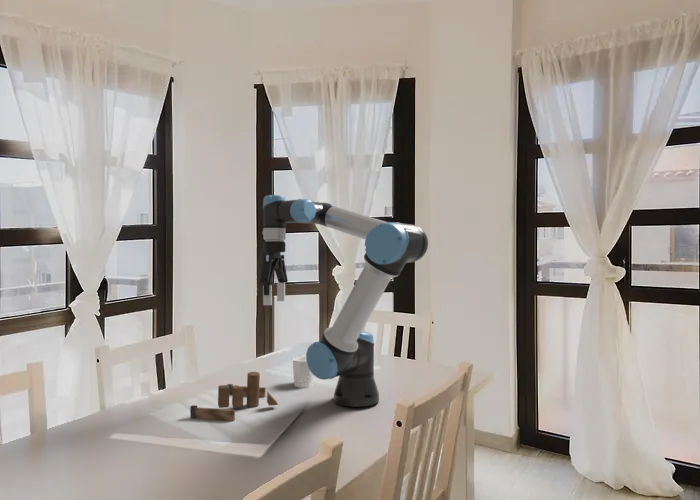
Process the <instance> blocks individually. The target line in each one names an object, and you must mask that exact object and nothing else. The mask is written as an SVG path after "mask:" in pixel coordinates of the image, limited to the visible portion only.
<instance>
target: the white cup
mask: <svg viewBox="0 0 700 500" xmlns="http://www.w3.org/2000/svg"><path fill="white" fill-rule="evenodd" d="M292 371H293V372H292V373H293V374H292V375H293V385H294V387H296V388H300V389H307V388H311V387H313V386H314V377H315V376H314V375H313V374H312V372H311V371H310V369H309V367H308V363H307V361H306V356H299V357H294V358H292Z"/></svg>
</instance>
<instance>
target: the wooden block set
mask: <svg viewBox="0 0 700 500" xmlns="http://www.w3.org/2000/svg"><path fill="white" fill-rule="evenodd" d="M260 375H261V374H260V372H257V371H250V372H248V373H247V375H246V377H247V378H246V379H247V380H246V381H247V382H246V387H247V396H246V406H247V407H249V408H255V407H258V406H260V405H259V404H260V397H259V387H260ZM239 386H240V385H235V384H234V385H233V389H232V394H231V397H232V400H231V405H232V407H233V409H234V408H235V409H236V408H243V407H244V395H243V390H242V389H241V388H240V387H239ZM217 387H218V389H217V390H218V391H217V393H218V395H217V406H218V409H225V408H230V394H229V390H230V388H229V386H228V384H224V385H223V384H222V385H221V384H220V385H218V386H217ZM266 403H267V405H268V406H278V405H279V403H278V402H277V400H276V399H275V398H274V397H273V396H272V395H271V394H270V393H269V392H268V391H267V393H266Z"/></svg>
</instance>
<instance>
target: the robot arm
mask: <svg viewBox="0 0 700 500" xmlns="http://www.w3.org/2000/svg"><path fill="white" fill-rule="evenodd" d="M262 204H263V205H262V215H263V216H262V219H263V220H262V221H263V222H262V223H263V224H262V225H263V230H262V232H261V233H262V235H263V240H264V241H263V243H262V245H263V247H262V248H263V249H262V251H263V253H267V255H266V254H264V256H263V262H262V263H263V264H262V269H261V275H260V276H261V277H260V279H259V281H260V282H259V285H260V286H262V301H263V302H262V304H263V306H272V305H273V294H272V293H273V289H272V288H273V287H272V286H273V285H272V281H273V276H274V274H275V275H276V279H277V283H276V289H277V290H276V301H277V302H286V283H288V281H289V280H288V275H287V268H286V263H285V254H281V253H285V252H286V238H287V235H286V230H287V229H286V224H293V223H294V224H296V223H298V224H299V223H300V224H311V225H312V224H315V225H320V226H323V227H326V228H330V229H333V230H336V231H339V232H342V233H344V234H347V235H351V236H353V237H356V238H360V239H363V240H365V241H364V247H365V249H364V252H365V254H364V255H363V260H364V262H365V265H364V266H363V269H362V271H361V273H360V275H359V276H358V277H357V279H356V282H355V284H354V285H353V287H352V289H351V291H350V293H349V295H348V297H347V298H346V300H345V302H344V304H343V305H342V308H341V309H340V312H339V313H338V315H337V317H336V319H335V321H334V323H333V325H332V326H331V327H326V329H325V330H324V332H323V333H322V335H321V337H320V338H319V340H318V341H315V342H313V343H311V344H310V345H309V346H308V348H307V350H306V355H305V357H306V361H307V363H308V367H309V369H310V371H311V372H312V374H313V375H314V377H316V378H317V379H320V380H325V381H326V380H332V379H334V378H337V377H338V379H337V382H336V386H335V390H334V392H333V401H334V403H336V404H337V405H341V406H345V407H354V408H355V407H356V408H358V407H368V406H373V405H375V404H377V403H379V402H380V393H379V390H378V386H377V384H376V380H375V375H374V374H375V371H374V370H375V367H374V364H375V360H374V359H375V350H374V349H375V343H374V340H375V339H374V335H373V334H372V333H371V332H368V331H367V332H366V331H363V330H364V328H365V326H366V324H367V323H368V321H369V319H370V317H371V315H372V314H373V313H374V310H375V308H376V306H377V305H378V304H379V301H380V299H381V298H382V295H384V292H385V291H386V288H387V286H388V285H389V283H390V281H391V280H392V278H395V277H396V278H397V277H398V276H400V274H401V273H402V271H403V269H404V267H405V265H406V264H408V263H409V264H410V263H414V262H417V261H419V260H420V259H422V258H423V257H424V256H425V254H426V253H427V250H428V248H429V239H428V236H427V234H426V232H425V231H424V229H422V228H421V227H420V226H418V225H416V224H412V223H402V222H399V221H397V222H394V221H386V220H382V219H378V218H375V217H371V216H367V215H364V214H361V213H358V212H354V211H351V210H348V209H345V208H341V207H339V206H338V207H337V206H335V205H333V204H332V203H327V202H316V201H311V199H308V198H307V199H306V198H298V199H291V200H286V197H285V195H280V194H278V195H277V194H273V195H272V194H269V195H266V196H264V197H263V202H262ZM274 272H275V273H274Z"/></svg>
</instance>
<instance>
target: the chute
mask: <svg viewBox="0 0 700 500" xmlns="http://www.w3.org/2000/svg"><path fill="white" fill-rule="evenodd" d="M227 385H228V386H229V388H230V390H229V395H232V389H233V386H234V385H233V383H228V384H227ZM238 386H239V387H240V388H241V389H242V390H243V396H244V395H247V385H246V386H243V385H241V386H240V385H238ZM265 397H267V393H266V387H265V386H264V387H262V386H261V387H260V386H259V398H265ZM189 411H190V414H189V415H190V419H197V420H198V419H199V420H215V421H225V422H227V421H228V422H234V421H235V420H236V417H235V416H236V410H235V409H231V408H229V409H227V408H215V407H213V408H212V407H199V406H198V405H195V404H194V405H190V410H189Z"/></svg>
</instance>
